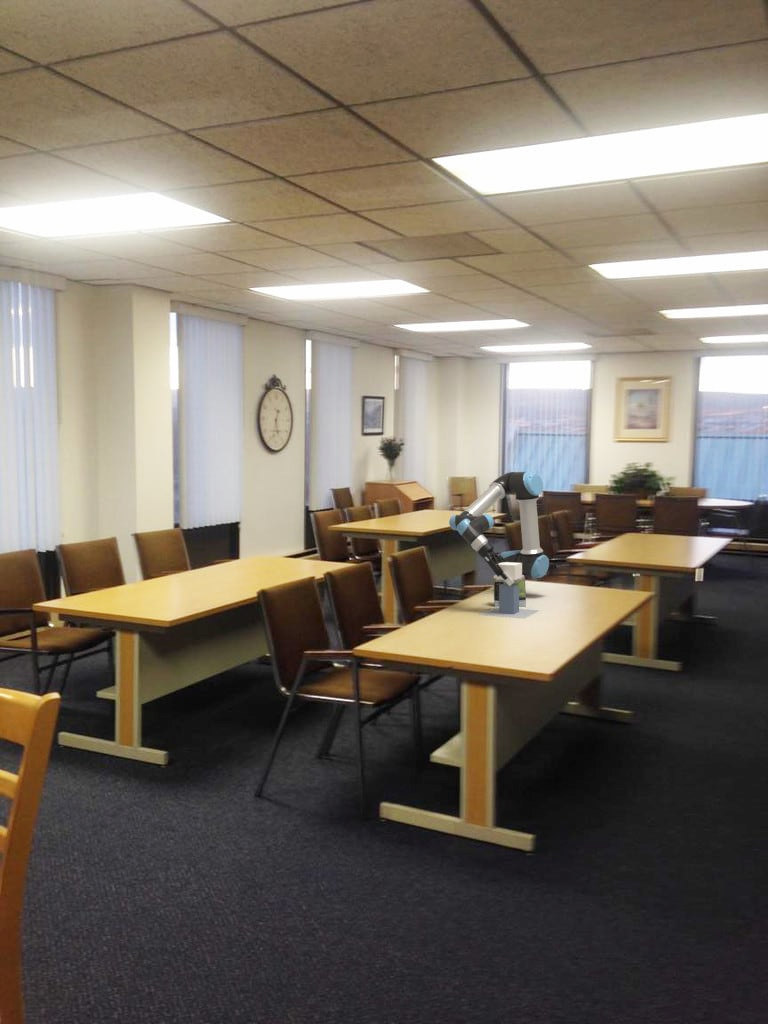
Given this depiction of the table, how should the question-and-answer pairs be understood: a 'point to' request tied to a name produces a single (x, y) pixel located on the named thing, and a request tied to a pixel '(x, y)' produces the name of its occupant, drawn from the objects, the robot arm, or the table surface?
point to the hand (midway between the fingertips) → (515, 582)
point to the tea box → (521, 583)
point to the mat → (521, 614)
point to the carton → (508, 598)
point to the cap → (511, 570)
